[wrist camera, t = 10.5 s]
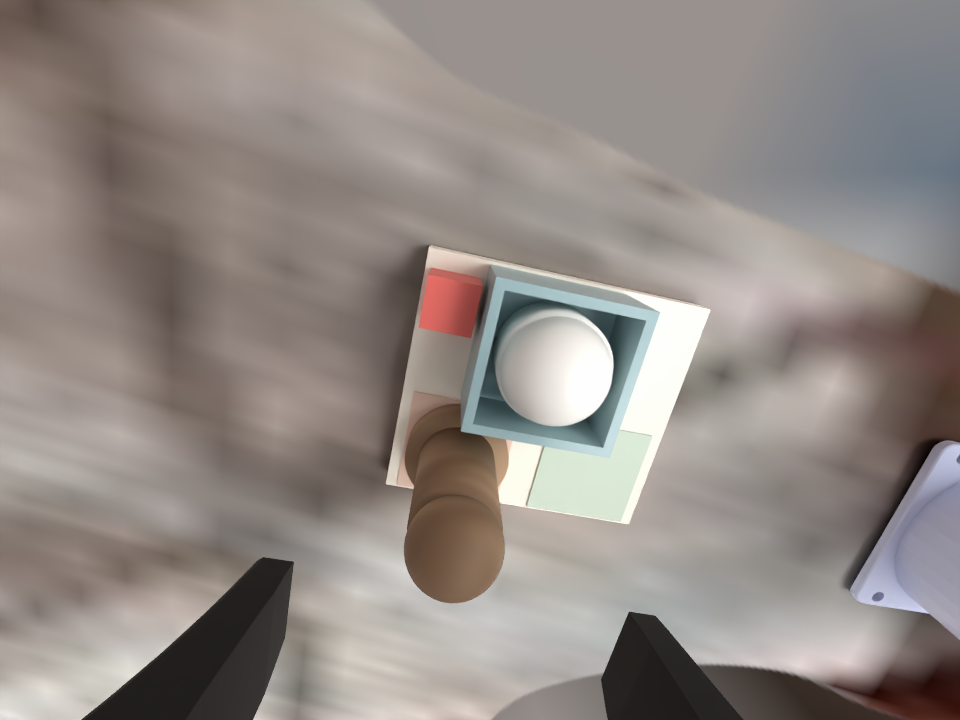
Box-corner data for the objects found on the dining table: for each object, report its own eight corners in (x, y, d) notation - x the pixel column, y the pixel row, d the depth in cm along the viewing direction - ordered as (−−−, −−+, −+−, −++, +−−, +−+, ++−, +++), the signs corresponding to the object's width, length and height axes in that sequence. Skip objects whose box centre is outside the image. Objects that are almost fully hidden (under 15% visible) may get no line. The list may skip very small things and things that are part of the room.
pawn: (517, 414, 16) (548, 536, 10) (493, 499, 17) (509, 652, 11) (417, 394, 16) (389, 509, 10) (399, 482, 17) (364, 631, 11)
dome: (611, 313, 14) (651, 342, 11) (580, 410, 16) (610, 460, 12) (506, 291, 14) (519, 314, 11) (482, 391, 15) (487, 438, 12)
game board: (698, 304, 16) (737, 320, 14) (622, 511, 19) (643, 553, 17) (430, 244, 15) (424, 252, 13) (388, 472, 18) (378, 510, 16)
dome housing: (625, 293, 15) (660, 312, 13) (586, 417, 17) (609, 458, 14) (490, 263, 15) (496, 276, 12) (460, 394, 16) (460, 431, 13)
